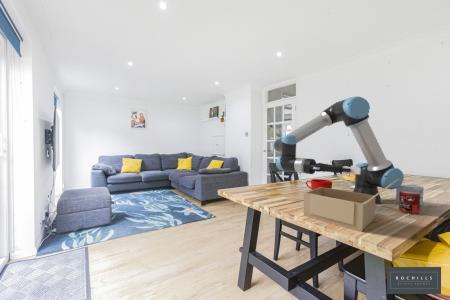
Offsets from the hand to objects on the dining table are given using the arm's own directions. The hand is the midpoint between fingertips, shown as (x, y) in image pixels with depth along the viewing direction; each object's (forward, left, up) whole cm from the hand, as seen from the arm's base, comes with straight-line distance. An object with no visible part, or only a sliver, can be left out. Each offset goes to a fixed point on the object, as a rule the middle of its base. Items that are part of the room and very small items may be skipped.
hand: (360, 171), depth 88 cm
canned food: (-37, -20, -23) cm, 48 cm away
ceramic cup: (-4, -52, -23) cm, 57 cm away
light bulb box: (-51, -37, -23) cm, 67 cm away
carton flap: (-7, +3, -8) cm, 11 cm away
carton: (+4, -9, -23) cm, 25 cm away
